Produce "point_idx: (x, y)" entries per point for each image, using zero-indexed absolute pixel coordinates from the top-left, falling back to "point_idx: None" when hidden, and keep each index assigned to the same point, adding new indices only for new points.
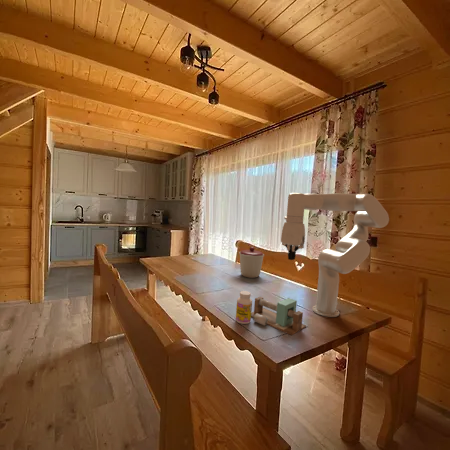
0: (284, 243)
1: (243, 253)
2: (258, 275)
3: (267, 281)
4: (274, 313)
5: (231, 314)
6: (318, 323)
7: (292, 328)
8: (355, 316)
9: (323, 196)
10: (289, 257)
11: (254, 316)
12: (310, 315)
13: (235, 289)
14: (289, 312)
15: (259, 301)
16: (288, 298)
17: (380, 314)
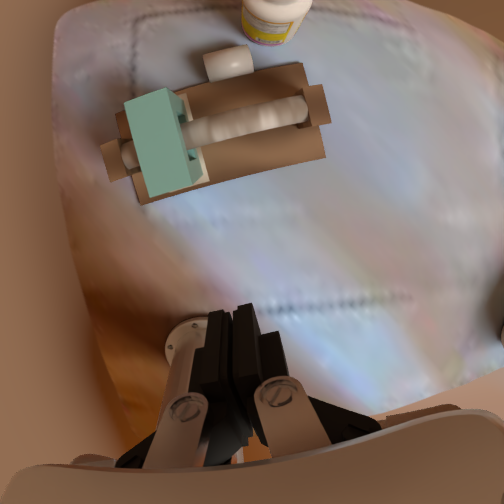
0: (382, 431)
1: None
2: (502, 338)
3: (470, 344)
4: (263, 162)
5: (330, 23)
6: (147, 264)
7: None
8: (156, 393)
9: None
10: (237, 321)
11: (245, 45)
12: (204, 287)
13: (489, 194)
14: None
15: (299, 95)
16: (187, 178)
17: None
